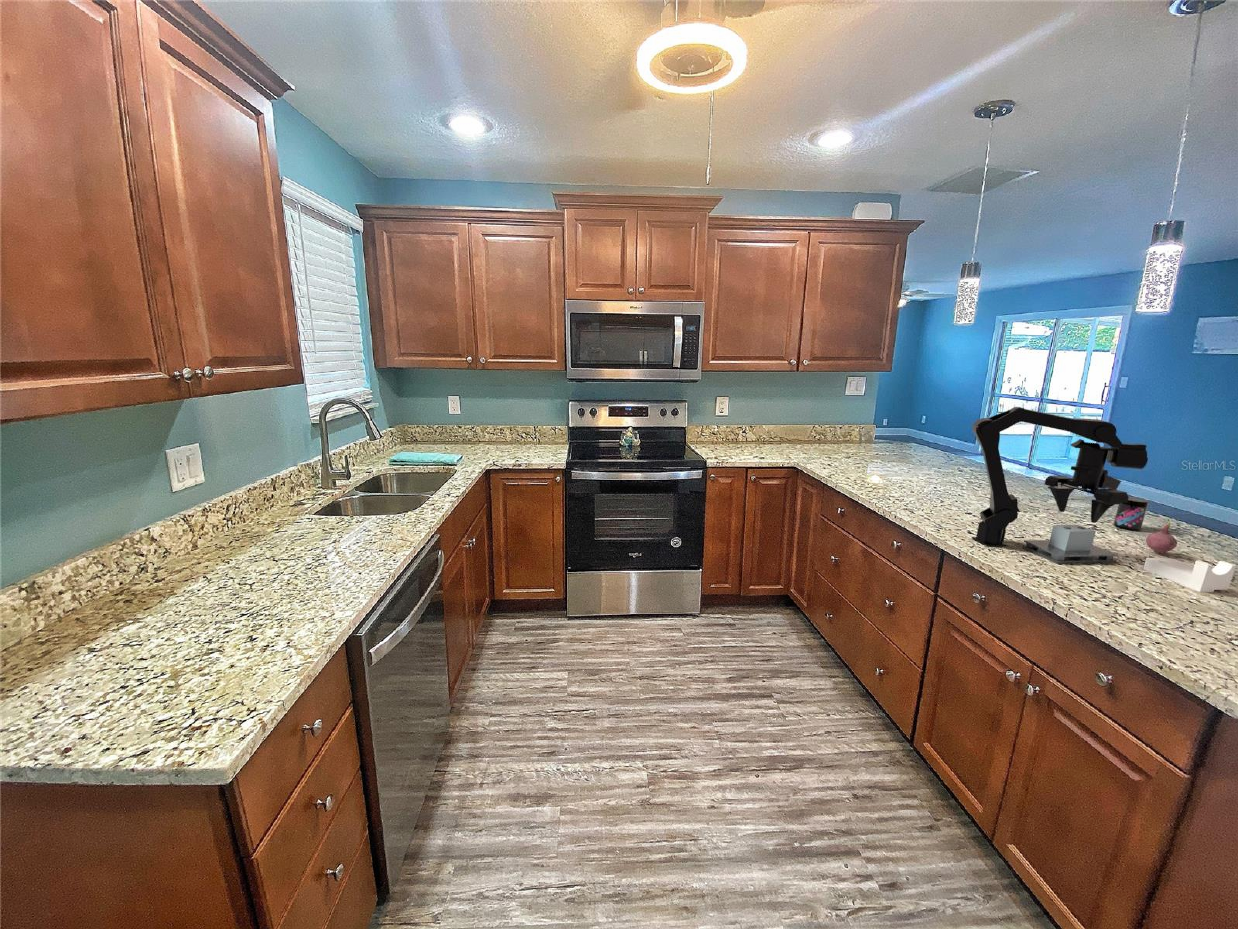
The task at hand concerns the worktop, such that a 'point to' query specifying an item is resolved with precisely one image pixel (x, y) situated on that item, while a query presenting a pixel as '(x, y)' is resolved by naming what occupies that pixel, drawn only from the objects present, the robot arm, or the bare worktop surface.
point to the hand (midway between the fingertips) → (1077, 517)
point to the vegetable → (1161, 541)
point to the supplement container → (1131, 514)
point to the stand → (1069, 553)
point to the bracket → (1193, 573)
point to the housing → (1072, 537)
